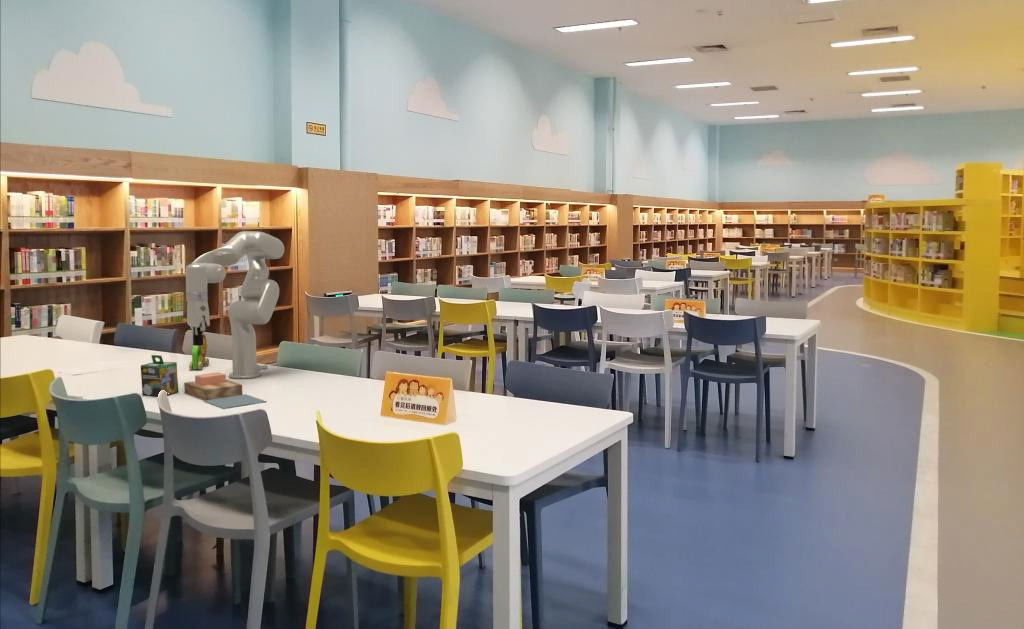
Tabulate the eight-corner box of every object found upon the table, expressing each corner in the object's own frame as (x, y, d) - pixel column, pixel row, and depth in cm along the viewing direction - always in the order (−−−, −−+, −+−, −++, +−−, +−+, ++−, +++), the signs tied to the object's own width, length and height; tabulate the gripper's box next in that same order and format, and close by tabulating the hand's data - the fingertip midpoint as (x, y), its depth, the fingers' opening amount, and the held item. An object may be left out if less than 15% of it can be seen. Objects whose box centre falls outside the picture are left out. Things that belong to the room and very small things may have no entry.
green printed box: (179, 392, 299) (177, 353, 298) (161, 397, 291) (159, 357, 289) (159, 390, 302) (157, 352, 301) (141, 395, 294) (139, 355, 292)
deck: (220, 387, 308) (220, 377, 307) (242, 395, 295) (242, 384, 295) (184, 393, 298) (184, 382, 297) (205, 400, 285) (205, 389, 285)
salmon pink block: (218, 380, 303) (218, 372, 302) (225, 382, 298) (225, 374, 298) (195, 383, 296) (195, 375, 296) (202, 385, 292) (202, 377, 292)
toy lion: (201, 370, 343) (200, 336, 341) (188, 371, 342) (187, 336, 341) (211, 364, 359) (210, 331, 357) (198, 364, 358) (197, 331, 356)
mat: (245, 395, 295) (245, 394, 295) (266, 402, 284) (266, 401, 284) (203, 401, 284) (203, 400, 284) (223, 409, 273) (223, 408, 273)
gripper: (215, 297, 297) (216, 346, 299) (198, 295, 308) (199, 342, 310) (195, 298, 292) (196, 348, 294) (178, 296, 303) (180, 344, 304)
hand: (198, 345), depth 302 cm, fingers closed
